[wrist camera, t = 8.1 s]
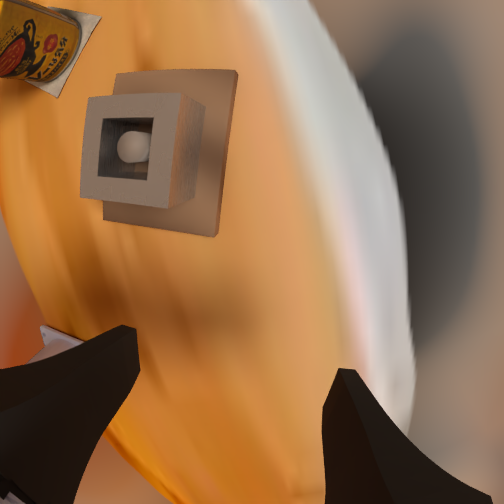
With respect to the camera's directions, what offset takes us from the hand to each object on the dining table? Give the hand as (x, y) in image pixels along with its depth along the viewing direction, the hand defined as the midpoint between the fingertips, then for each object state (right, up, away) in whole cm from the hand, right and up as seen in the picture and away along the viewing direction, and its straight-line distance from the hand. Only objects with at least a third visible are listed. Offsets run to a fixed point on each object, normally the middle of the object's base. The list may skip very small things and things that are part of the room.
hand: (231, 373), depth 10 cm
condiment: (-16, +21, +6) cm, 27 cm away
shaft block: (-5, +11, +8) cm, 14 cm away
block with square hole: (-5, +10, +7) cm, 13 cm away
